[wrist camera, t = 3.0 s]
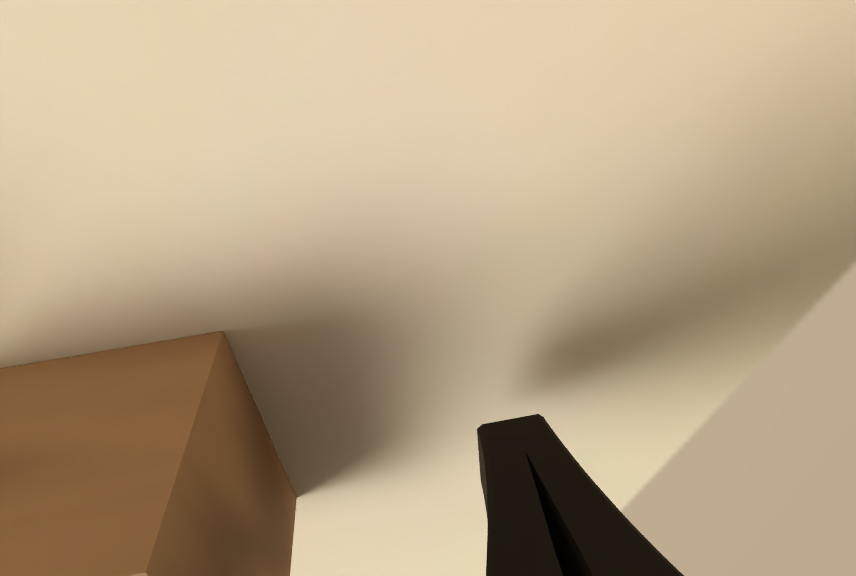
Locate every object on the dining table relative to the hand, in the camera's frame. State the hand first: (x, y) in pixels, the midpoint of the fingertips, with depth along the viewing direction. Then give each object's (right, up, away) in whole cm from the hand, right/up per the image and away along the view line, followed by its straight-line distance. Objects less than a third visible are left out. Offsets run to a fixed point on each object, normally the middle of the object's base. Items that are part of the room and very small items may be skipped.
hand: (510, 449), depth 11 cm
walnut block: (-8, 0, +1) cm, 8 cm away
